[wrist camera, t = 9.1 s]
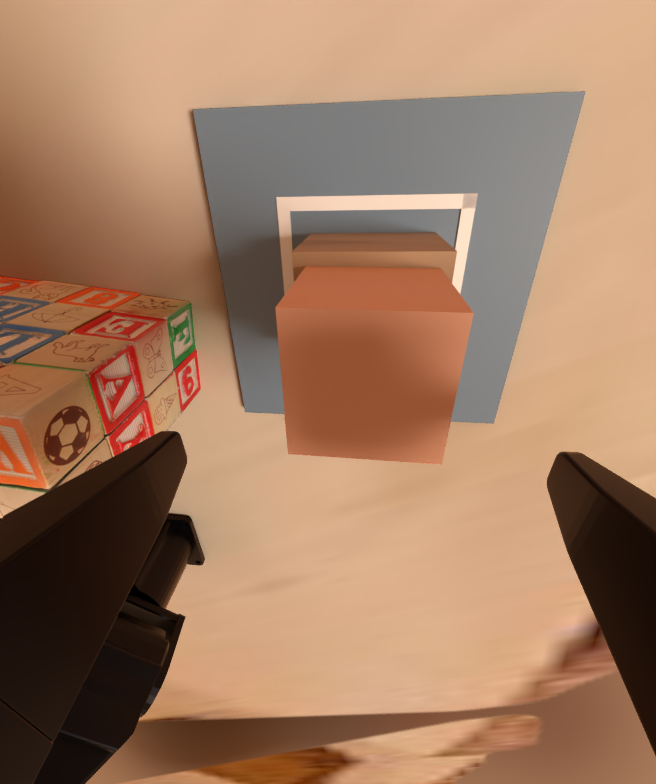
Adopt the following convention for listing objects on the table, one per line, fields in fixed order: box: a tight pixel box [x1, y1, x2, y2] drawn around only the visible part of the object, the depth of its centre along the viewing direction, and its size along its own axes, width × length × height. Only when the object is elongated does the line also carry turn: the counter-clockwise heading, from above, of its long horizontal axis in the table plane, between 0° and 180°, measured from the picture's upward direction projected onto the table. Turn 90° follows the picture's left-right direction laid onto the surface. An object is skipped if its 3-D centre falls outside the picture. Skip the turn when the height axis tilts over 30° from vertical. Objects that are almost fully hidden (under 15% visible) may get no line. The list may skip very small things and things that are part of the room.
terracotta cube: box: [275, 266, 474, 464], centre depth 12 cm, size 5×5×5 cm
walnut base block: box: [292, 232, 457, 283], centre depth 17 cm, size 6×6×5 cm
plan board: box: [193, 91, 585, 424], centre depth 19 cm, size 16×16×1 cm
